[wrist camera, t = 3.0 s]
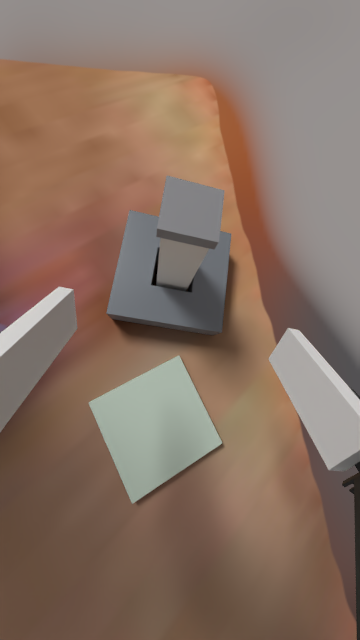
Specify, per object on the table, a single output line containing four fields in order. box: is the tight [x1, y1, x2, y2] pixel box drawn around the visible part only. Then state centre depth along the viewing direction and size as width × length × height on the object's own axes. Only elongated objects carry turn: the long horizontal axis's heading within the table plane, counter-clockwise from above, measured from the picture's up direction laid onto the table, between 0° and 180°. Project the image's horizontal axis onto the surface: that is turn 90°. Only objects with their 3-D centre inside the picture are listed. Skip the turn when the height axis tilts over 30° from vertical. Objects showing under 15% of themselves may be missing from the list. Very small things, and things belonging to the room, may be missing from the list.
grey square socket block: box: [107, 210, 231, 335], centre depth 26 cm, size 14×14×4 cm
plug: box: [156, 176, 224, 291], centre depth 21 cm, size 5×5×14 cm
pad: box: [89, 356, 222, 504], centre depth 24 cm, size 12×12×1 cm
